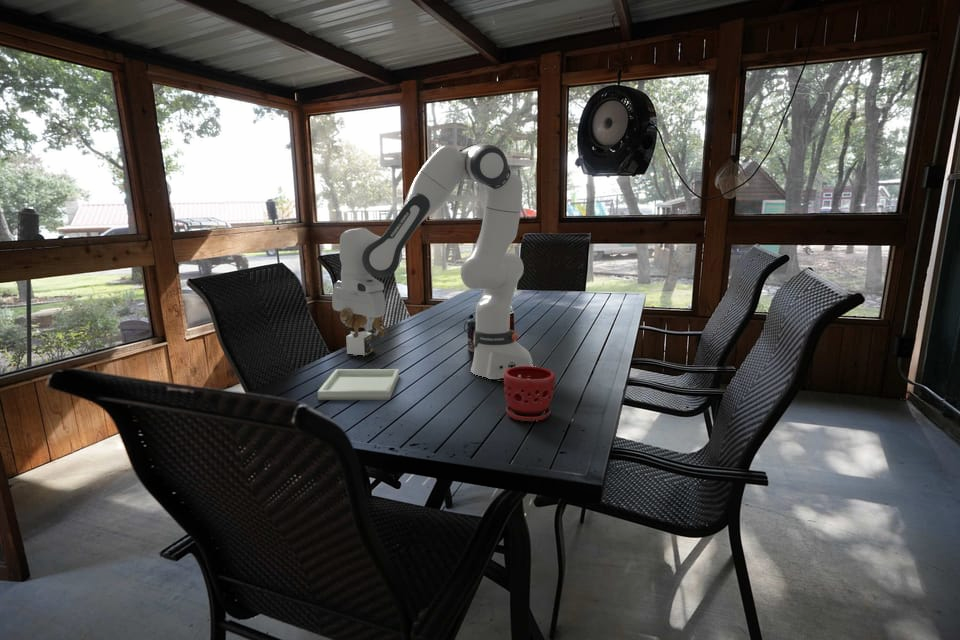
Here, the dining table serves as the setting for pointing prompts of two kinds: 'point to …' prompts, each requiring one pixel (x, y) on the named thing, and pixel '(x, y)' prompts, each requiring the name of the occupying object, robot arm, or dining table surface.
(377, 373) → the tray
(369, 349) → the medicine bottle
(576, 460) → the dining table surface
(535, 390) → the plant pot
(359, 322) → the lion figurine
